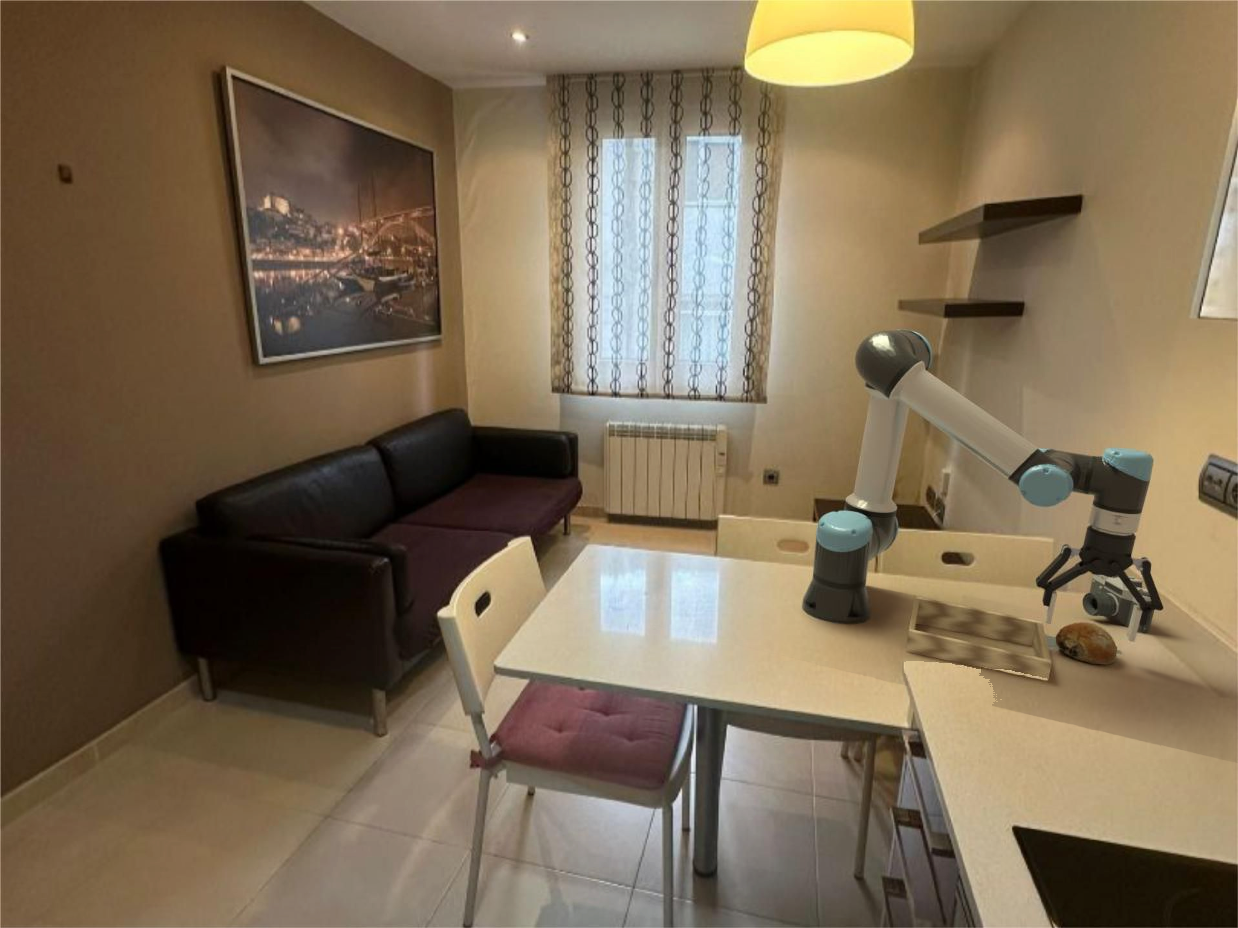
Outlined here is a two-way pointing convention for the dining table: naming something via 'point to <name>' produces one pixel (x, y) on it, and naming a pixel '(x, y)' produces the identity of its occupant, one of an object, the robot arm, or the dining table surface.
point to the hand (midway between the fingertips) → (1088, 629)
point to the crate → (978, 625)
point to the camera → (1115, 600)
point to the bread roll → (1087, 643)
